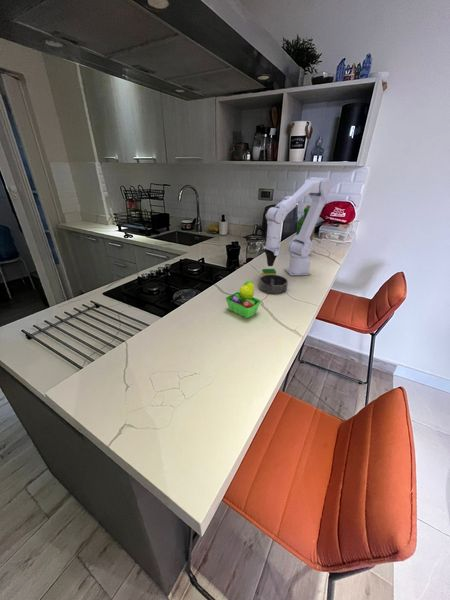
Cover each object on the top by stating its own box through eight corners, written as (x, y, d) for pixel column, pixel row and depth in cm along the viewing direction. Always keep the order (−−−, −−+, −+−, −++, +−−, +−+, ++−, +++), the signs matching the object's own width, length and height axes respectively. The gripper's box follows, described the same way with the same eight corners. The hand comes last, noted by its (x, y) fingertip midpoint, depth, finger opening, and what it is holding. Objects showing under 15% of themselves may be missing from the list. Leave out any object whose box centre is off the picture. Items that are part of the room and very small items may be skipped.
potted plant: (312, 257, 151) (322, 207, 138) (294, 256, 151) (302, 206, 138) (307, 251, 161) (316, 204, 147) (290, 251, 161) (297, 203, 147)
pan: (281, 281, 120) (282, 274, 118) (290, 293, 109) (292, 285, 107) (255, 282, 118) (256, 275, 116) (263, 294, 108) (263, 286, 106)
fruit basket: (224, 309, 96) (224, 282, 91) (239, 301, 102) (240, 275, 97) (247, 321, 90) (249, 292, 84) (262, 312, 95) (265, 284, 90)
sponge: (261, 277, 124) (262, 269, 122) (272, 277, 124) (273, 268, 122) (263, 280, 120) (264, 272, 118) (275, 280, 121) (276, 271, 119)
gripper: (260, 232, 118) (257, 260, 124) (269, 241, 105) (266, 272, 112) (274, 232, 119) (271, 260, 125) (285, 240, 106) (281, 271, 113)
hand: (270, 265), depth 119 cm, fingers closed
